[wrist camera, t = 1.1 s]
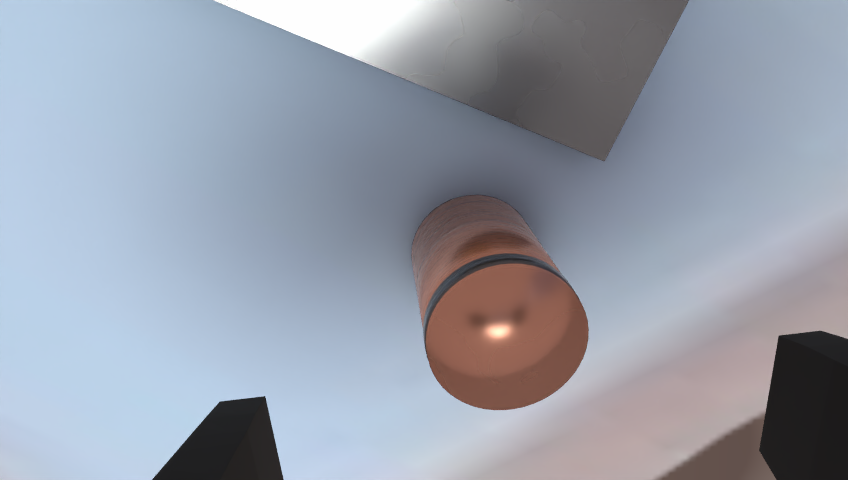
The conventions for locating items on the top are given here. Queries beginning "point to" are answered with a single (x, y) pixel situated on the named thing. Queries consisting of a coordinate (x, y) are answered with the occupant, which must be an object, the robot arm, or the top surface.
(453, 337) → the round knob
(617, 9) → the collar plate
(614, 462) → the top surface
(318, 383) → the top surface
